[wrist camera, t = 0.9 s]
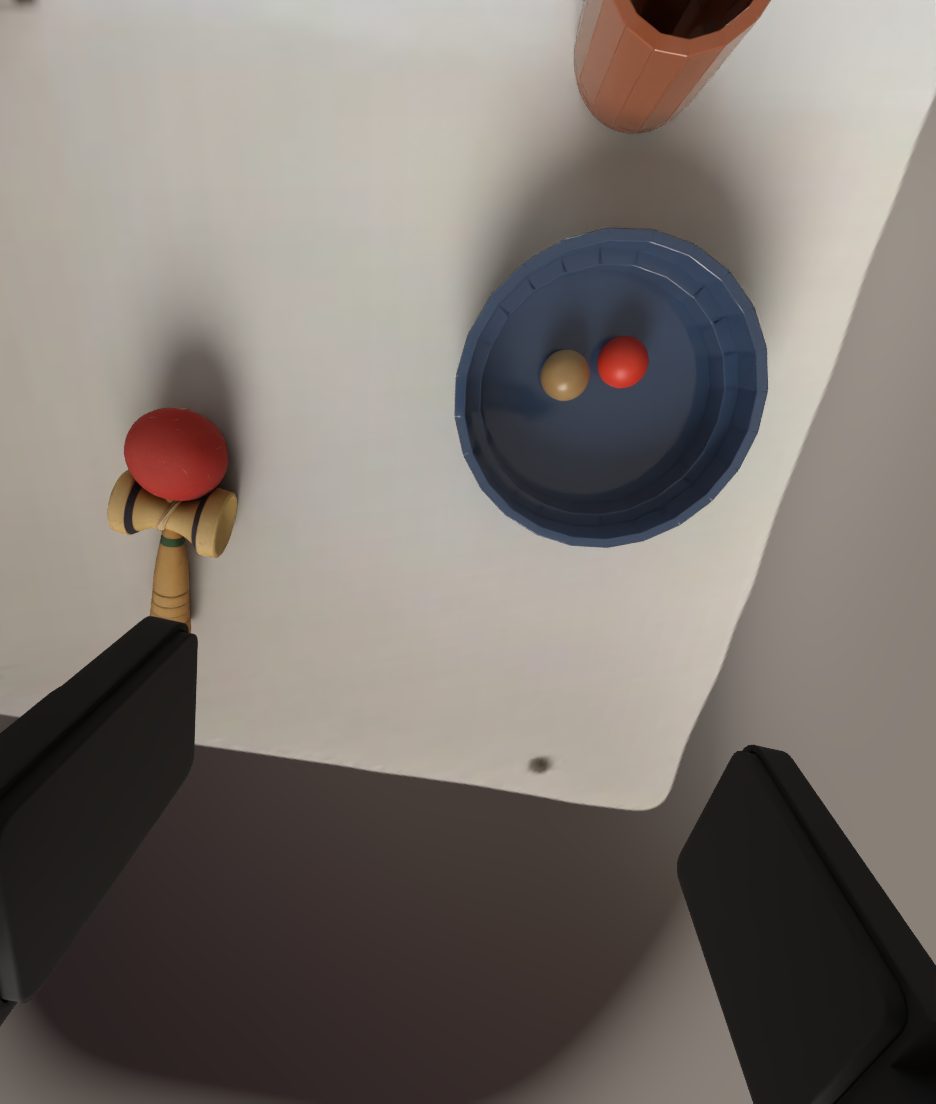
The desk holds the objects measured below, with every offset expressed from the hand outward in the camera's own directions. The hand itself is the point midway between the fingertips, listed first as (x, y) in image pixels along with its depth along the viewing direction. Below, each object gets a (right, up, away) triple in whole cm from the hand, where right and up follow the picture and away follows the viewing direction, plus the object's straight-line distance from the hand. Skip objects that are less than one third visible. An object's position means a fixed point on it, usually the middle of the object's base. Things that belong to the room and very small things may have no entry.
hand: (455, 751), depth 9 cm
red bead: (+10, +15, +23) cm, 29 cm away
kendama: (-20, +6, +31) cm, 38 cm away
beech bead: (+6, +14, +24) cm, 28 cm away
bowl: (+8, +14, +26) cm, 31 cm away
